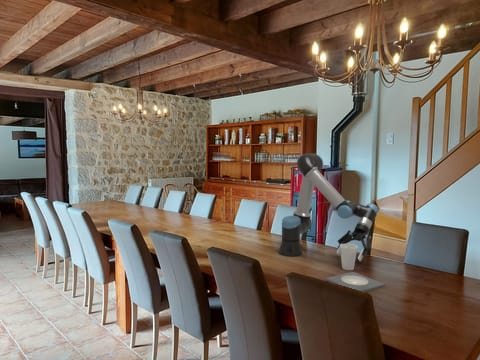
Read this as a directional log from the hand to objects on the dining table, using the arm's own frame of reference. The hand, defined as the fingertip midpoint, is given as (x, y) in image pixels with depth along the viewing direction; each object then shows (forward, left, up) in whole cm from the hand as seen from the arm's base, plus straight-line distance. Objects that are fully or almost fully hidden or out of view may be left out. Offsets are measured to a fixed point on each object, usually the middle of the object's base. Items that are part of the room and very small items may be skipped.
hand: (348, 257), depth 195 cm
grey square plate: (+16, -13, -7) cm, 22 cm away
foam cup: (-1, +1, -7) cm, 7 cm away
